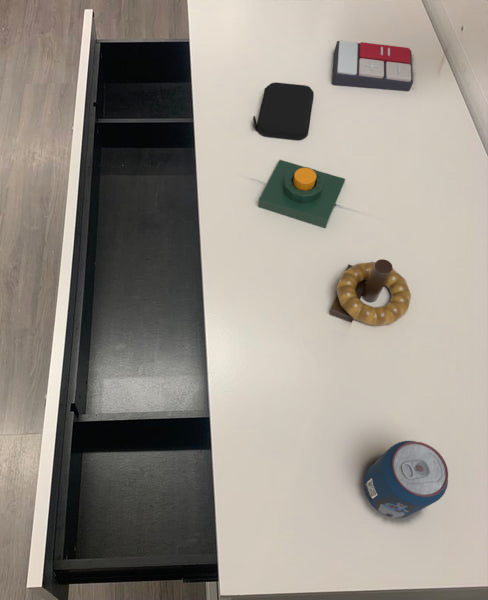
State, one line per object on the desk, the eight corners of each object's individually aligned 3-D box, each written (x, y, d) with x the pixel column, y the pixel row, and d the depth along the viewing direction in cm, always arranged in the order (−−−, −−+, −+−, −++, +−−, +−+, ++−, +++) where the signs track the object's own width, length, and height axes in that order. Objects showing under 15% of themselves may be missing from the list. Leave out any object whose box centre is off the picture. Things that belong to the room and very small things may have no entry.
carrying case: (260, 89, 107) (249, 140, 100) (261, 76, 104) (249, 127, 97) (313, 95, 106) (306, 147, 98) (315, 82, 103) (308, 134, 96)
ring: (413, 282, 81) (419, 272, 78) (397, 338, 76) (403, 329, 74) (346, 260, 83) (350, 250, 81) (327, 313, 78) (330, 304, 76)
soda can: (405, 459, 69) (439, 431, 58) (425, 515, 65) (465, 496, 55) (353, 467, 68) (377, 441, 58) (371, 524, 65) (400, 507, 55)
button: (317, 178, 89) (319, 171, 88) (310, 193, 88) (312, 186, 86) (297, 172, 90) (298, 165, 89) (290, 187, 89) (291, 179, 87)
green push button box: (342, 187, 93) (347, 171, 89) (325, 228, 88) (329, 213, 85) (278, 168, 96) (280, 151, 92) (258, 207, 91) (259, 191, 88)
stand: (403, 288, 82) (424, 252, 74) (388, 336, 78) (408, 303, 70) (346, 269, 84) (360, 232, 76) (329, 314, 80) (342, 280, 72)
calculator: (414, 80, 101) (335, 70, 102) (406, 99, 105) (330, 89, 106) (412, 45, 106) (337, 36, 108) (405, 64, 110) (332, 55, 111)
